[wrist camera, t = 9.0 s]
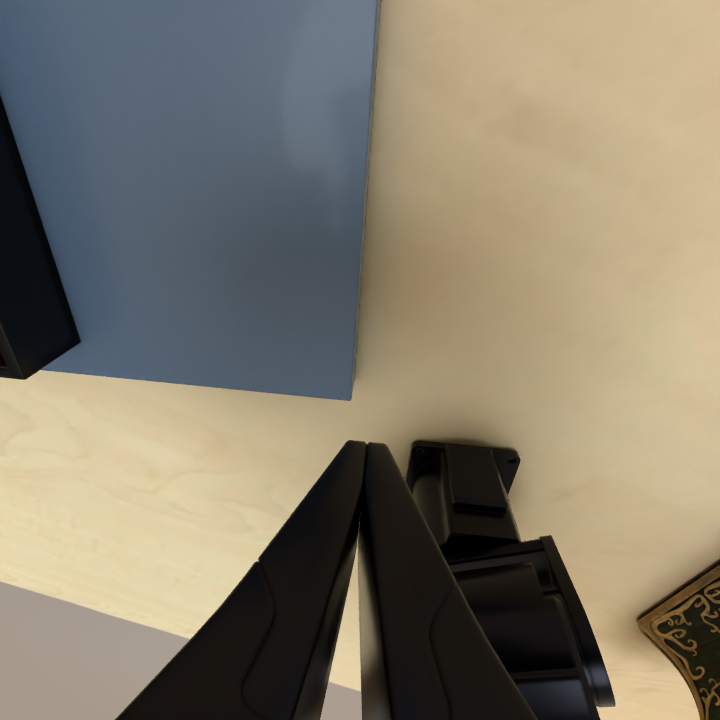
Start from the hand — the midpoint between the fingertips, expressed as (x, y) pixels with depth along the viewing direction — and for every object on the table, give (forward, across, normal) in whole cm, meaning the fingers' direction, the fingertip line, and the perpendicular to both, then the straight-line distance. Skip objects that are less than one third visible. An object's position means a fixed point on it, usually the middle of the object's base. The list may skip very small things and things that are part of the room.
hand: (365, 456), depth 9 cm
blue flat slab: (+12, +13, -3) cm, 18 cm away
